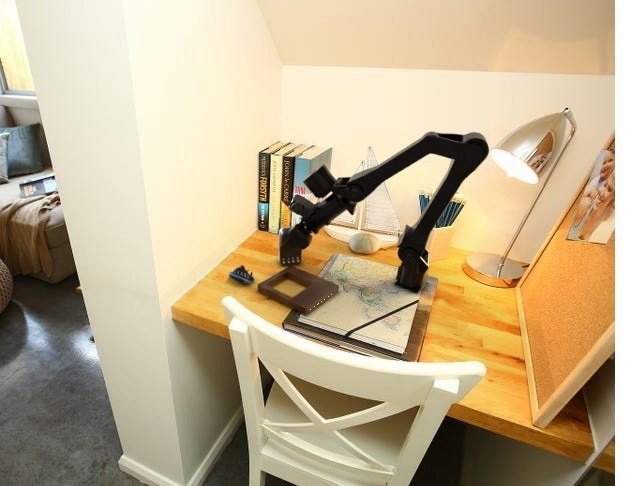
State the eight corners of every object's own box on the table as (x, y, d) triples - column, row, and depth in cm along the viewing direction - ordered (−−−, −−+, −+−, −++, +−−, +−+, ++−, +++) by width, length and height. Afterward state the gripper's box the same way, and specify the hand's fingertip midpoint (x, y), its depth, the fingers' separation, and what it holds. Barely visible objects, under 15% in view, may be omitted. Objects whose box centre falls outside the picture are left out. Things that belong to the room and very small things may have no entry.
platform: (338, 292, 104) (339, 285, 103) (305, 316, 96) (306, 308, 95) (290, 271, 114) (291, 265, 113) (257, 291, 106) (257, 284, 105)
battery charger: (280, 268, 116) (281, 232, 110) (277, 261, 119) (278, 226, 113) (303, 266, 117) (305, 230, 110) (300, 259, 120) (302, 224, 114)
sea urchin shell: (378, 253, 117) (361, 232, 117) (357, 265, 123) (341, 245, 123) (386, 241, 124) (370, 221, 124) (366, 253, 130) (351, 234, 129)
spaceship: (256, 273, 113) (255, 260, 109) (253, 289, 108) (252, 276, 105) (231, 272, 114) (229, 259, 111) (227, 287, 110) (224, 274, 106)
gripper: (316, 176, 111) (278, 209, 121) (298, 199, 97) (256, 234, 106) (342, 206, 113) (302, 236, 122) (327, 233, 98) (283, 264, 108)
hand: (286, 241), depth 115 cm, fingers open, 9 cm apart
